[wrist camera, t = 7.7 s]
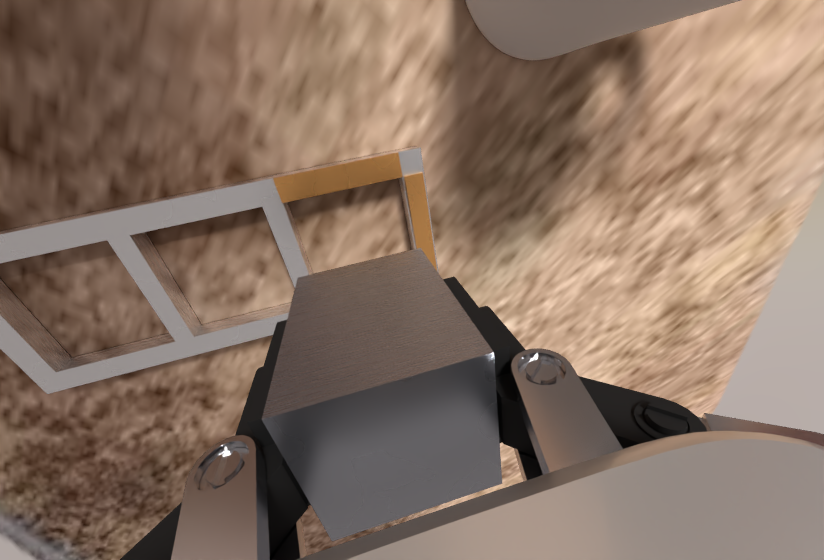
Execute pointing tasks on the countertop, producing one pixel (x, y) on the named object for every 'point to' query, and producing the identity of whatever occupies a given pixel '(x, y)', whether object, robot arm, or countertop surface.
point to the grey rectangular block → (383, 394)
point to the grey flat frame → (126, 233)
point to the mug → (572, 22)
